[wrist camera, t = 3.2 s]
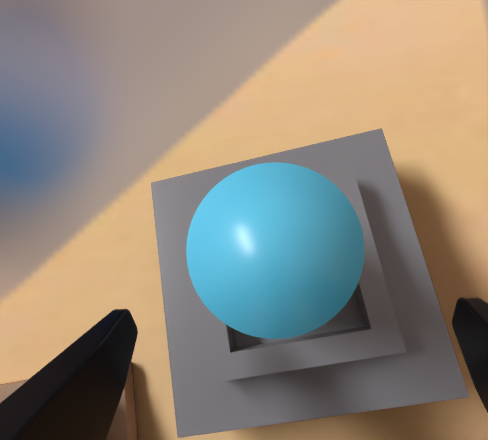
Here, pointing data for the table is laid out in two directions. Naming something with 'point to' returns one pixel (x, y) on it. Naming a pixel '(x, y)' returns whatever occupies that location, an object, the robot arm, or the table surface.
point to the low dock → (124, 421)
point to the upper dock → (324, 337)
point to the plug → (275, 250)
